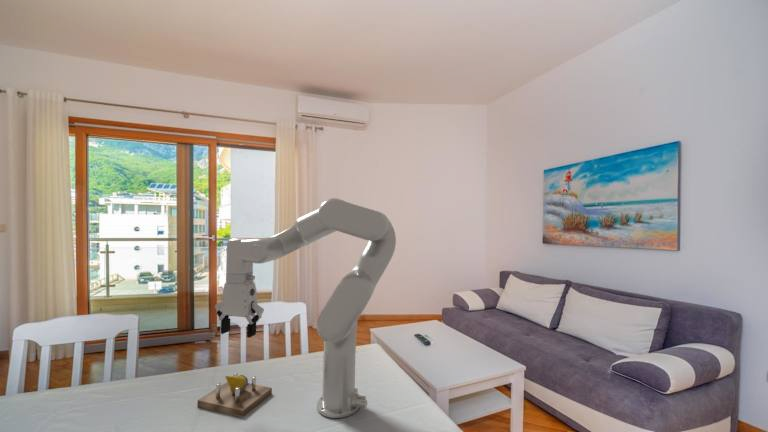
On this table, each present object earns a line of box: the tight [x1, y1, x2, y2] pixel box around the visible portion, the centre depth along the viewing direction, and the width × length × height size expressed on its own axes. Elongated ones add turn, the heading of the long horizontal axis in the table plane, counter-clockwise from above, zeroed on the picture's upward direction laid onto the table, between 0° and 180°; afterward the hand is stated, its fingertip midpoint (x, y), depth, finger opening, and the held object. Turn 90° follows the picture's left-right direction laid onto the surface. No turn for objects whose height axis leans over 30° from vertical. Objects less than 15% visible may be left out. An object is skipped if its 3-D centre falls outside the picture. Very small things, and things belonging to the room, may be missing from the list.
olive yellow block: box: [225, 374, 249, 394], centre depth 98 cm, size 5×5×10 cm
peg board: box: [196, 372, 273, 418], centre depth 98 cm, size 16×13×6 cm
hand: (238, 334), depth 98 cm, fingers open, 9 cm apart
